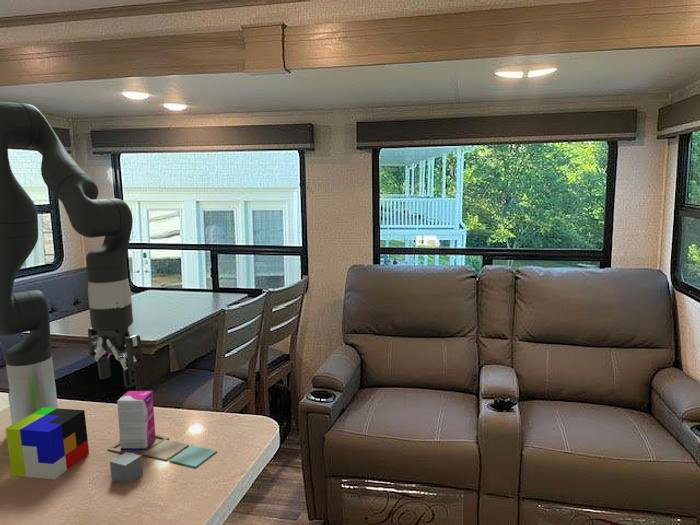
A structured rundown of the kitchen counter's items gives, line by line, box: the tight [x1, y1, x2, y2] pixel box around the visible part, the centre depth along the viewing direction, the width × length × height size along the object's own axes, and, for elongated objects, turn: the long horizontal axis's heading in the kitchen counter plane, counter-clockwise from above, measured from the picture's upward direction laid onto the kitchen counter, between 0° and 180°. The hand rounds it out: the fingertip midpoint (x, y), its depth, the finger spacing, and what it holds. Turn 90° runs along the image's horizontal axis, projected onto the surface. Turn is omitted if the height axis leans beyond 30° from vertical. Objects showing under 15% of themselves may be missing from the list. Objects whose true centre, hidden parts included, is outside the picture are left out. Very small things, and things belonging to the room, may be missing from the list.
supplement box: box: [116, 390, 156, 452], centre depth 117 cm, size 6×6×12 cm
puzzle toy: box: [5, 407, 90, 480], centre depth 109 cm, size 10×10×10 cm
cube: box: [109, 451, 144, 485], centre depth 104 cm, size 4×4×4 cm
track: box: [107, 433, 218, 469], centre depth 115 cm, size 23×9×1 cm, turn 66°
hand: (117, 382), depth 105 cm, fingers open, 8 cm apart
